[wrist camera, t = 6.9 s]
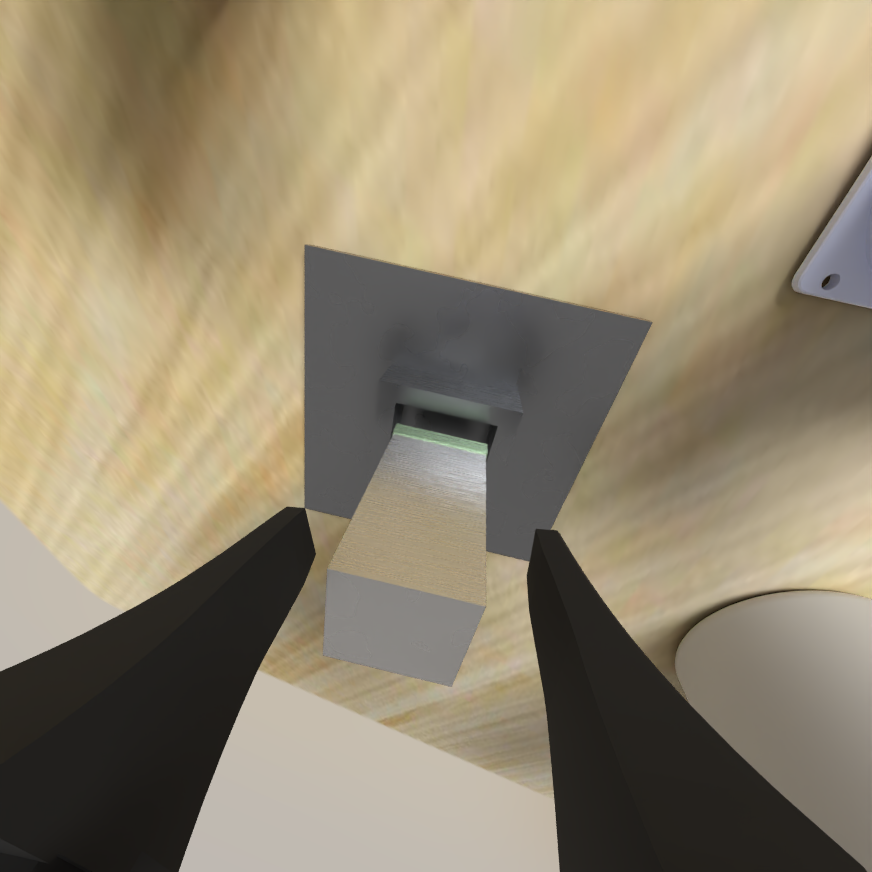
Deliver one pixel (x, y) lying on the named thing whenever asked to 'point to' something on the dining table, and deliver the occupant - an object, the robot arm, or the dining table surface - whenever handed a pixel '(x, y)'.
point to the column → (412, 560)
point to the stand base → (455, 383)
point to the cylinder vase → (794, 700)
